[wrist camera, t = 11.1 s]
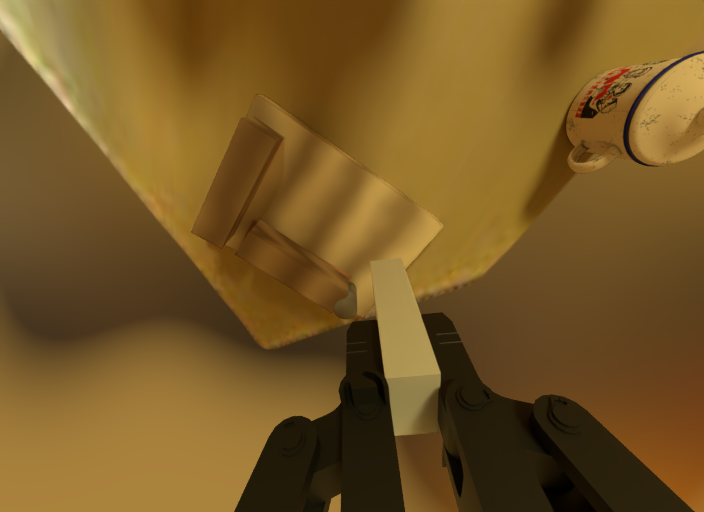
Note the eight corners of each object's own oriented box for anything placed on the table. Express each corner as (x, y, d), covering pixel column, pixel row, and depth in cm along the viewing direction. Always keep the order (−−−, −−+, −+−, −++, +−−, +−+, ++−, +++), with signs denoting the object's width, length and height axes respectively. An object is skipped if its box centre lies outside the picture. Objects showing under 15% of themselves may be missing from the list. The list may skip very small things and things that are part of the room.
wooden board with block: (206, 220, 38) (178, 242, 32) (264, 95, 31) (242, 92, 25) (361, 305, 45) (363, 336, 39) (437, 218, 38) (454, 239, 32)
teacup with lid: (626, 43, 29) (777, 7, 19) (660, 109, 32) (807, 109, 22) (525, 135, 33) (603, 148, 23) (563, 186, 36) (648, 217, 26)
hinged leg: (246, 239, 36) (233, 255, 32) (260, 219, 34) (248, 233, 31) (346, 303, 41) (346, 323, 37) (362, 287, 39) (363, 306, 35)
